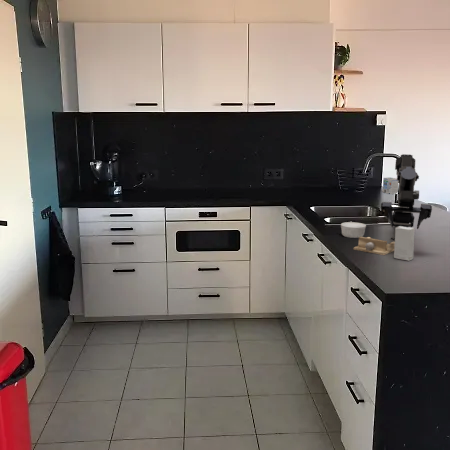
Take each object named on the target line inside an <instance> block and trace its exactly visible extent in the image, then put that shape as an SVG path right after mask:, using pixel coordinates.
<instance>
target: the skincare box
mask: <svg viewBox="0 0 450 450" xmlns="http://www.w3.org/2000/svg"><path fill="white" fill-rule="evenodd" d="M394 229H395V240H394V241H395V247H394V251H393V252H394V253H393V258H394V259H397V260H398V259H399V260H402V261H409V262H410V261H411V260H413V259H414V248H415V246H414V245H415V234H416V233H415V231H416V229H415V227H402V226H399V227H396V228H395V227H394Z"/></svg>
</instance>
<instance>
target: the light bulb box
mask: <svg viewBox="0 0 450 450" xmlns="http://www.w3.org/2000/svg"><path fill="white" fill-rule="evenodd" d="M384 192H385V194H388V193H390V194H389V195H395V194H394V193H397V192H398V181H397V177H383V183H382V193H384Z"/></svg>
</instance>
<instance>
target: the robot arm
mask: <svg viewBox="0 0 450 450" xmlns="http://www.w3.org/2000/svg"><path fill="white" fill-rule="evenodd" d="M413 156H414V155H413V154H403V153H402V154H400V156H399V157H397V158H396V159H395V167H394V170H395V171H396V179H397V181H398V183H399V194H398V199H397V201H398V202H397V203H396V204H395V205H392V202H388V201H382V202H381V204H380V215H381V216H383V217H384V218H386V219H387V220H388V222H389V224H390V226H391V228H393V229H394V231H393V232H394V233H393V236H392V237H391V238H390V240H394V241H395V228H396V227H399V226H402V227H409V228H414V223H415V216H414V214H419V215H418V219H417V225H416V229H417V230H419V228H420V226H421V224H422V223H423V221H424V220H427V219H429V218H431V216H432V211H433V206H432V204H430V203H429V204H428V203H420V207H415V206H414V205H415V200H419V199H420V190H416V189H415V185H416V182H417V181H418V180H420V178H419V177H420V176H419V174H418V172H416V171H417V170H416V159H415V158H414V157H413Z"/></svg>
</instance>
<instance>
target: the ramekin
mask: <svg viewBox="0 0 450 450" xmlns="http://www.w3.org/2000/svg"><path fill="white" fill-rule="evenodd" d="M340 228H341V235H342V236H343V237H345V238H351V239H359V237H364V236H365V232H366V228H367V225H366V223H361V222H354V221H352V222H351V221H348V222H347V221H346V222H342V223H340Z"/></svg>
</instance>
